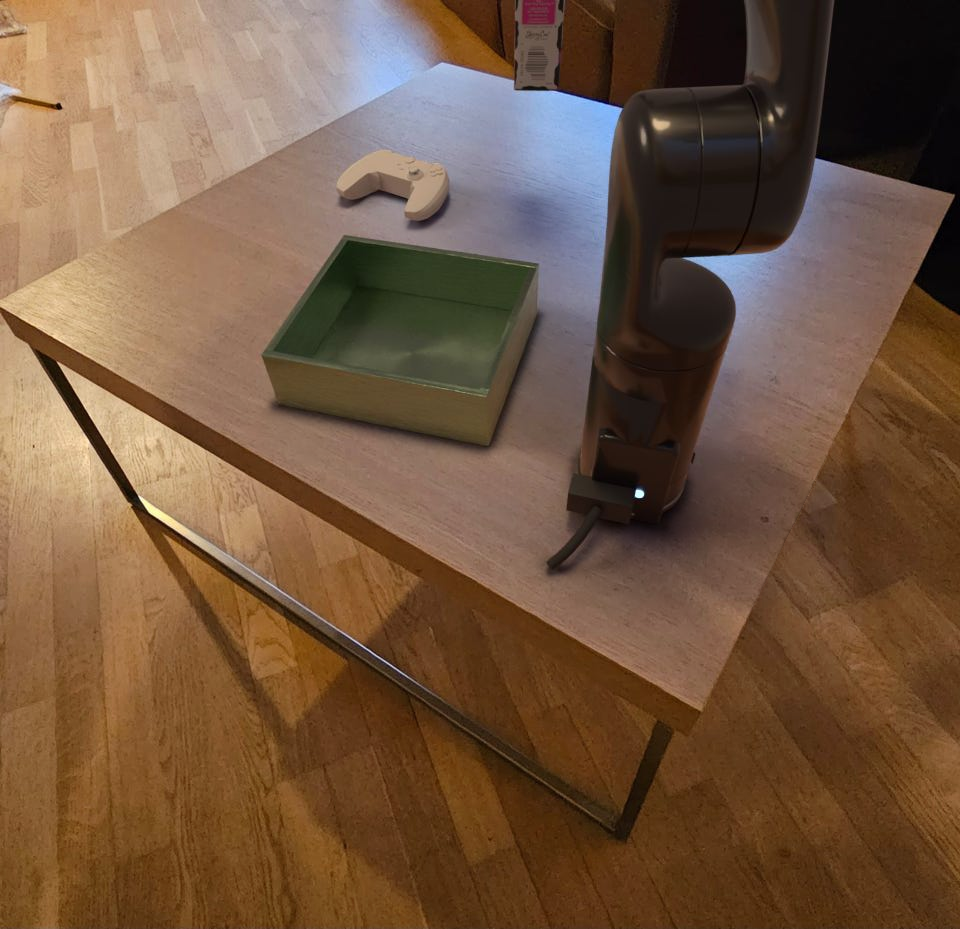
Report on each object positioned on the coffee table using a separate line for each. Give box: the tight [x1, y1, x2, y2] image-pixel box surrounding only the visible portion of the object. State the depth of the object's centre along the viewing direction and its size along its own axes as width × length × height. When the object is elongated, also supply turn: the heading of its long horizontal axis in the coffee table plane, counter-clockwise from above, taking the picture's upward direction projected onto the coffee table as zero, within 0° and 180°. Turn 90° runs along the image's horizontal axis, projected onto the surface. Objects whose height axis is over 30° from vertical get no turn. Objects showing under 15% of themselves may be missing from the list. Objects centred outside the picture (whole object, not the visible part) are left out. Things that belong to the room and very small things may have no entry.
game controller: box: [335, 149, 450, 221], centre depth 92 cm, size 14×4×10 cm
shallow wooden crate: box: [260, 234, 540, 447], centre depth 72 cm, size 20×22×7 cm
